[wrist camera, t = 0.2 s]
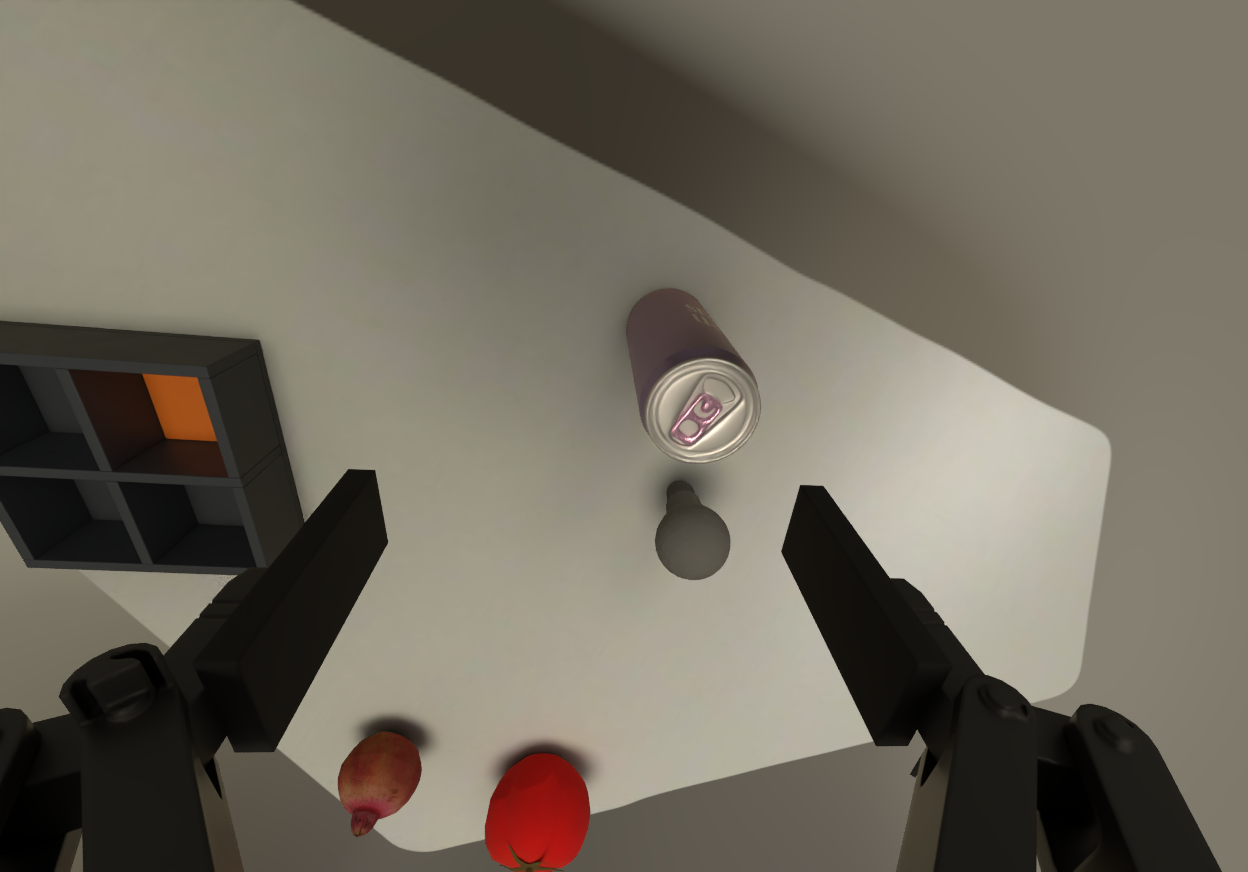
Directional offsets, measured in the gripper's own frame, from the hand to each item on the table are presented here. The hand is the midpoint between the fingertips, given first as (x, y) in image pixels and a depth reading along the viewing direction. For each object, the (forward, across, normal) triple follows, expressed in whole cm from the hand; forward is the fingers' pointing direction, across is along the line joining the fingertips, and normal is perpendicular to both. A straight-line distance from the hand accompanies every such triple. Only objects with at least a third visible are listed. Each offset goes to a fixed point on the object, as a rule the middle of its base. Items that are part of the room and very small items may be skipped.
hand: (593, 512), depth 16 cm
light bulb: (+24, +8, -14) cm, 29 cm away
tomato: (+24, -4, -56) cm, 61 cm away
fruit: (+24, -20, -50) cm, 59 cm away
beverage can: (+24, +5, 0) cm, 24 cm away
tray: (+24, -33, -12) cm, 42 cm away
